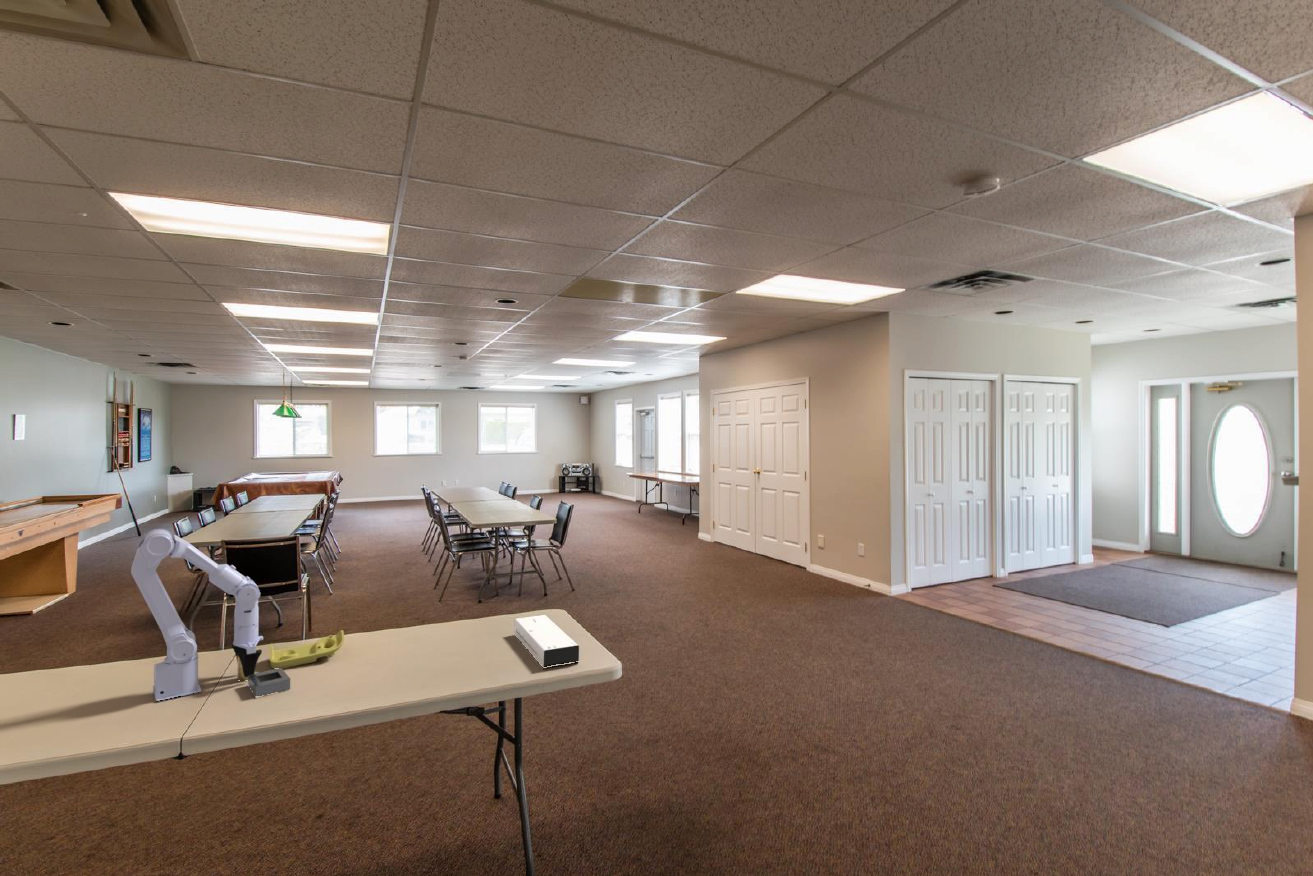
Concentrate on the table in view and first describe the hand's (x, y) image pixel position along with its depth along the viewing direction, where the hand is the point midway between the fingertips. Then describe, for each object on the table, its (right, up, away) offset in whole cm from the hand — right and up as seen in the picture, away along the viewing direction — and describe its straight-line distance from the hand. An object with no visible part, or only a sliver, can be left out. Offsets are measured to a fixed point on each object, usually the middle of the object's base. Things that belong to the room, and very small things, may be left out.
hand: (246, 672), depth 175 cm
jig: (+10, -2, -6) cm, 12 cm away
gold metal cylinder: (0, -2, 0) cm, 2 cm away
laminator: (+80, -4, +29) cm, 85 cm away
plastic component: (+9, -2, +15) cm, 17 cm away
